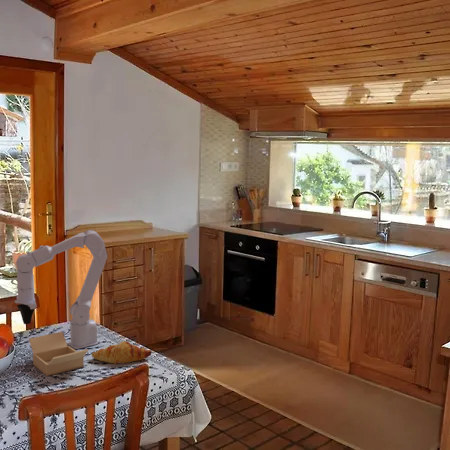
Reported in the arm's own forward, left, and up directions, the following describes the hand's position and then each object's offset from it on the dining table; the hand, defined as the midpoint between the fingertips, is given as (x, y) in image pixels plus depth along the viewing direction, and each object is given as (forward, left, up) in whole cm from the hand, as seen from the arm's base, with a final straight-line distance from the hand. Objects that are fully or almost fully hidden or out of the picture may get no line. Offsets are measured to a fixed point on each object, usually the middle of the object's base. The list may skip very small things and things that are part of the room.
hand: (27, 323), depth 201 cm
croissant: (-23, +28, -11) cm, 38 cm away
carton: (-3, +21, -10) cm, 23 cm away
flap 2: (-3, +29, -4) cm, 29 cm away
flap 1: (-3, +12, -4) cm, 13 cm away
